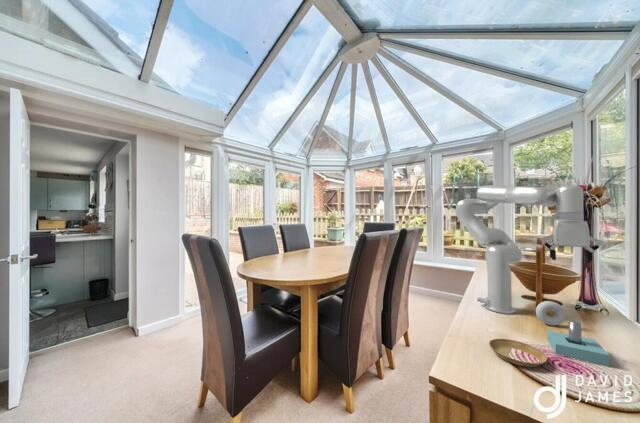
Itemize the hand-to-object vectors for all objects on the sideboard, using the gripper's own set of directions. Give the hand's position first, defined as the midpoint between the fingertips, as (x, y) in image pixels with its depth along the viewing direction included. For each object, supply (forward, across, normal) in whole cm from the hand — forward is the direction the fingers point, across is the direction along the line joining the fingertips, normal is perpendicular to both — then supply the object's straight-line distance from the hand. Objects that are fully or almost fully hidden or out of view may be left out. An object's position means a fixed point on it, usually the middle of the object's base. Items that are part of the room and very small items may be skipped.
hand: (570, 260), depth 97 cm
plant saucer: (+29, -20, -33) cm, 48 cm away
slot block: (+28, -3, -18) cm, 34 cm away
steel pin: (+28, -3, -18) cm, 34 cm away
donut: (+28, -5, +6) cm, 30 cm away
